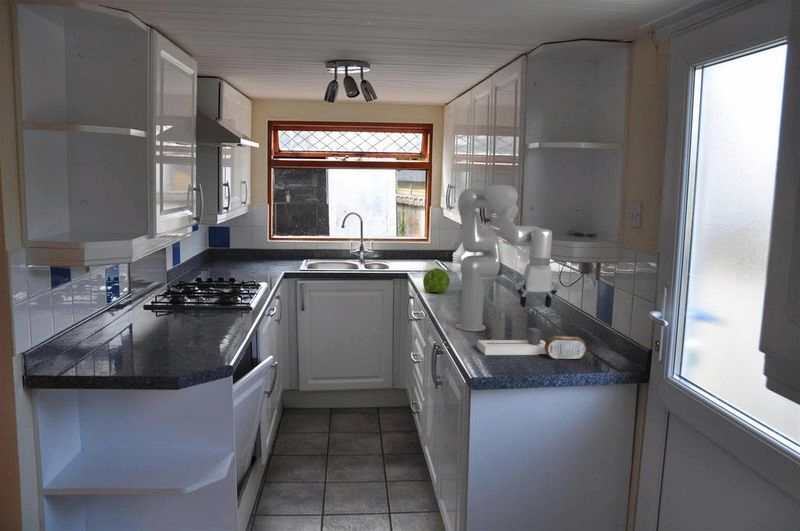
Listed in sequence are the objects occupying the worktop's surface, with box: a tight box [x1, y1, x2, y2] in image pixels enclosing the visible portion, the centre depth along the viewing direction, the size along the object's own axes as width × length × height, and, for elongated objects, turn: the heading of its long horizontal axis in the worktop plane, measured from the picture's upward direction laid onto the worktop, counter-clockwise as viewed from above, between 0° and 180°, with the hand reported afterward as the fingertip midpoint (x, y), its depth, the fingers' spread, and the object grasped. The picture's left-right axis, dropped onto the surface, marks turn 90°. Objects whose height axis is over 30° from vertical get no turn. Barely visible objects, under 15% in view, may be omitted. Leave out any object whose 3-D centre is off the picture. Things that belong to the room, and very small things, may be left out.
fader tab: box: [527, 327, 542, 344], centre depth 245 cm, size 5×3×5 cm, turn 10°
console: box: [476, 339, 547, 356], centre depth 244 cm, size 10×26×3 cm, turn 100°
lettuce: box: [422, 267, 451, 293], centre depth 371 cm, size 14×24×15 cm
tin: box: [545, 335, 588, 360], centre depth 236 cm, size 15×3×8 cm, turn 92°
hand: (535, 306), depth 244 cm, fingers open, 9 cm apart
